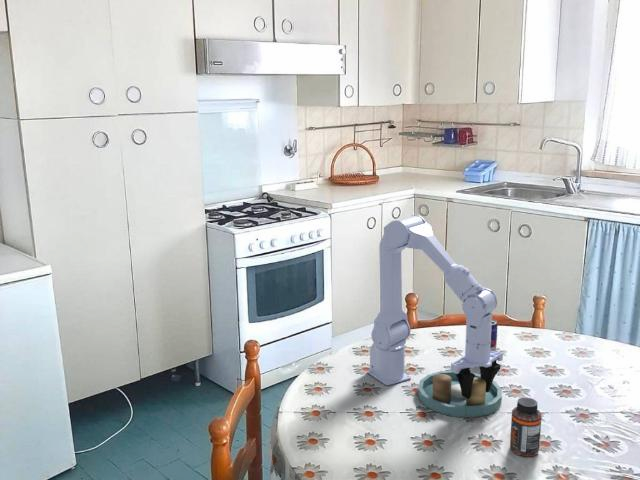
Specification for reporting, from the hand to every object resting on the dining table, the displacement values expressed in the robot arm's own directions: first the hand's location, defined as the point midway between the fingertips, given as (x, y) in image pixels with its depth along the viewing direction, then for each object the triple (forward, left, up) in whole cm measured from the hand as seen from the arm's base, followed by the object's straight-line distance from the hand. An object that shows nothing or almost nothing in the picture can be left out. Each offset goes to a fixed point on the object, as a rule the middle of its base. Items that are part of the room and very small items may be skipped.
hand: (475, 393), depth 155 cm
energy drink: (-18, +20, -4) cm, 27 cm away
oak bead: (0, 0, -3) cm, 3 cm away
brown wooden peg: (-6, -6, -3) cm, 8 cm away
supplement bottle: (+19, -4, -4) cm, 20 cm away
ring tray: (-6, 0, -3) cm, 7 cm away
